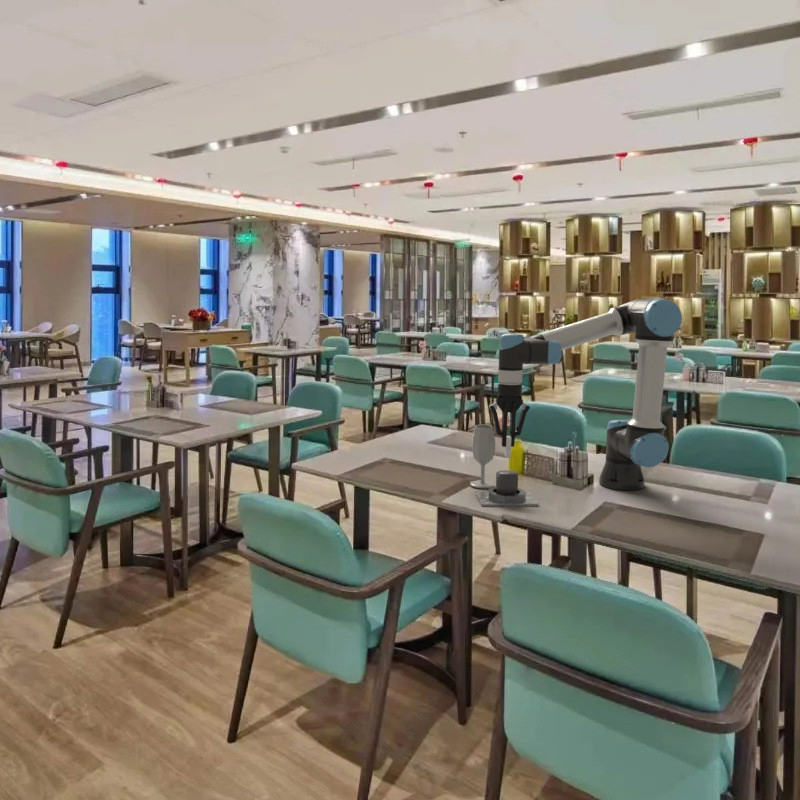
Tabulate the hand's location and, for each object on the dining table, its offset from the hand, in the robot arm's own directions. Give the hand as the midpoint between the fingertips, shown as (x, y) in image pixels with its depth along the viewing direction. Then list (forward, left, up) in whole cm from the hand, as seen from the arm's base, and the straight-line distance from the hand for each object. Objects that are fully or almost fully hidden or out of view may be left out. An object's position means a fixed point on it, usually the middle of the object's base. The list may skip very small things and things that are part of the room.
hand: (507, 456), depth 235 cm
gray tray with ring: (0, 0, -14) cm, 14 cm away
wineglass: (+5, -18, -15) cm, 23 cm away
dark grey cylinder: (0, 0, -14) cm, 14 cm away
